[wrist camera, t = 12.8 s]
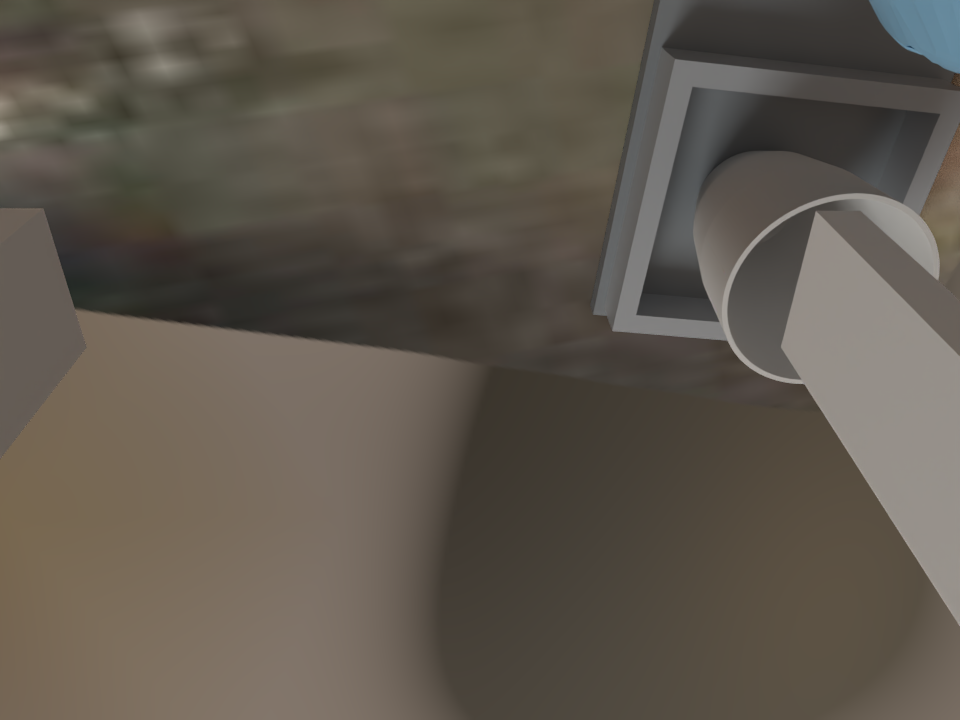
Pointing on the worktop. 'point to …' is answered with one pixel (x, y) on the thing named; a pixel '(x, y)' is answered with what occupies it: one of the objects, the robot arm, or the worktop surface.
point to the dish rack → (756, 133)
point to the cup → (780, 242)
